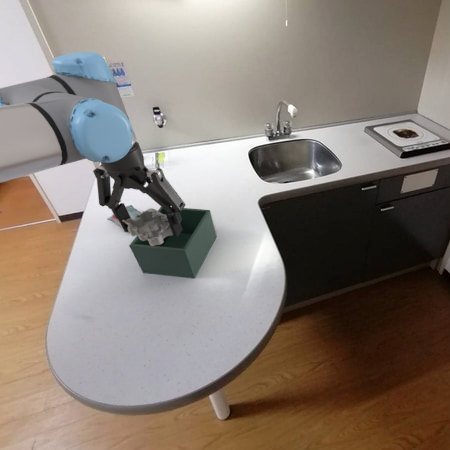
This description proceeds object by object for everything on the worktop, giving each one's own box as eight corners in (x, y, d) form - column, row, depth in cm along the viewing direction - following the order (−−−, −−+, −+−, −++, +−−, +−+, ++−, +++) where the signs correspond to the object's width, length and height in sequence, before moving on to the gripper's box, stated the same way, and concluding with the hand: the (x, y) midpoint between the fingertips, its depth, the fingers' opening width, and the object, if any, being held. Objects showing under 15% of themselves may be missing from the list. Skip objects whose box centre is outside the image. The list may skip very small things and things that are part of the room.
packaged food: (126, 237, 99) (120, 225, 96) (108, 223, 104) (102, 211, 101) (151, 224, 104) (146, 212, 101) (133, 211, 110) (128, 200, 107)
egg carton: (126, 233, 72) (119, 219, 69) (153, 216, 77) (147, 203, 74) (154, 250, 67) (147, 236, 65) (181, 231, 72) (176, 217, 70)
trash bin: (142, 272, 87) (128, 245, 80) (171, 232, 100) (161, 206, 94) (194, 278, 85) (185, 251, 78) (216, 236, 99) (209, 209, 92)
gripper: (184, 140, 59) (208, 225, 74) (74, 134, 62) (116, 216, 76) (166, 158, 54) (195, 246, 68) (45, 151, 57) (97, 236, 71)
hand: (153, 230), depth 72 cm, fingers closed on egg carton, 12 cm apart
